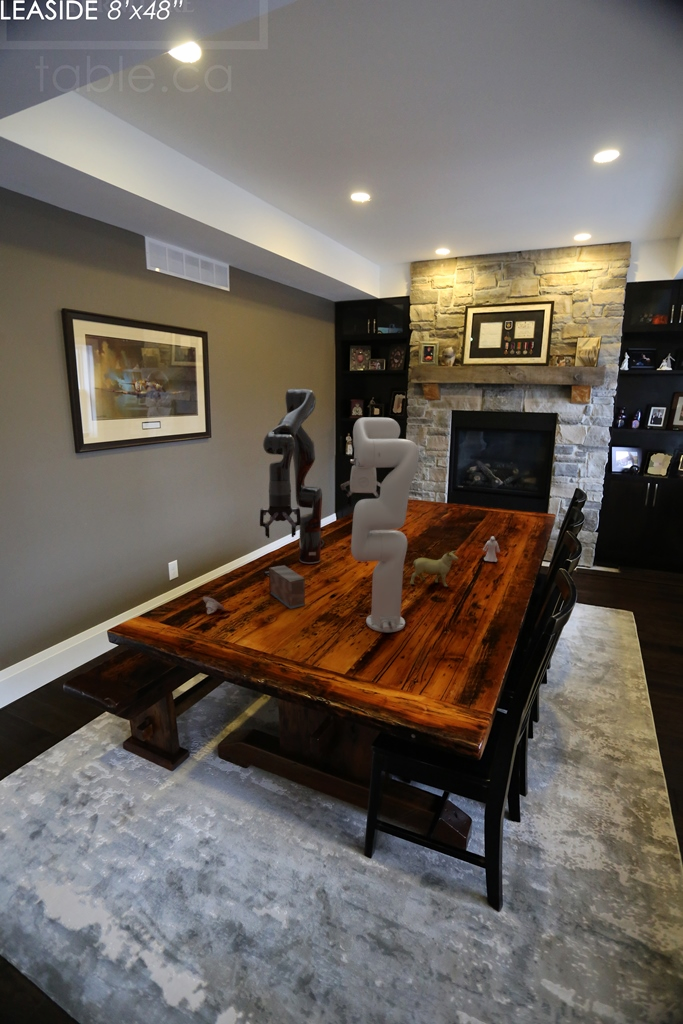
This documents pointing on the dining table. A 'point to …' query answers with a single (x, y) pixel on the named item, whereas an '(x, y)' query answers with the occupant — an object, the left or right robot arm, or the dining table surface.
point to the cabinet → (287, 586)
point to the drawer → (269, 576)
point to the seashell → (212, 605)
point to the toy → (434, 567)
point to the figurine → (491, 550)
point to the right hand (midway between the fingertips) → (362, 506)
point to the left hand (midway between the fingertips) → (280, 537)
